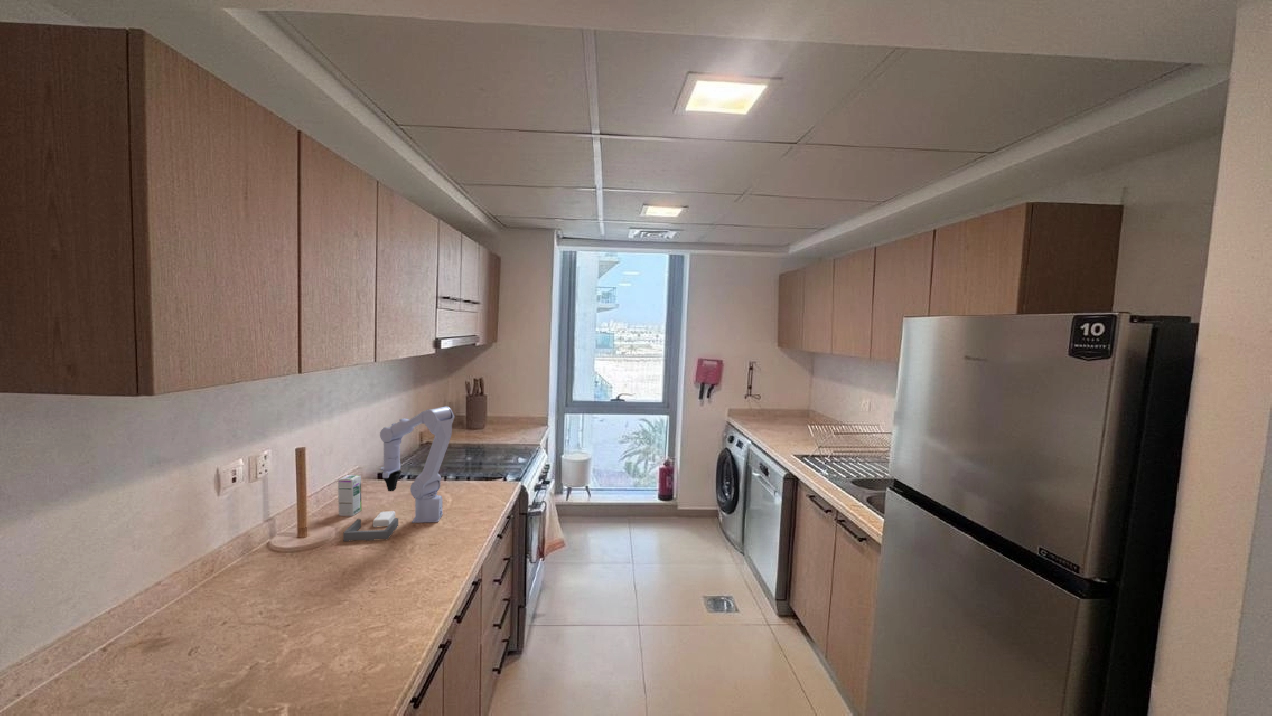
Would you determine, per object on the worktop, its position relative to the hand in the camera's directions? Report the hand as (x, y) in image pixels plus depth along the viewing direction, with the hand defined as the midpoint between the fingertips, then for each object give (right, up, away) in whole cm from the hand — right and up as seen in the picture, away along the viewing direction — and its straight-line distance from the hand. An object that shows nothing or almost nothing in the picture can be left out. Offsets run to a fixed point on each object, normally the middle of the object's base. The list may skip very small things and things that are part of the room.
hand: (391, 490), depth 192 cm
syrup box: (-15, -8, -3) cm, 17 cm away
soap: (+2, -10, -10) cm, 14 cm away
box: (+3, -10, -19) cm, 22 cm away
